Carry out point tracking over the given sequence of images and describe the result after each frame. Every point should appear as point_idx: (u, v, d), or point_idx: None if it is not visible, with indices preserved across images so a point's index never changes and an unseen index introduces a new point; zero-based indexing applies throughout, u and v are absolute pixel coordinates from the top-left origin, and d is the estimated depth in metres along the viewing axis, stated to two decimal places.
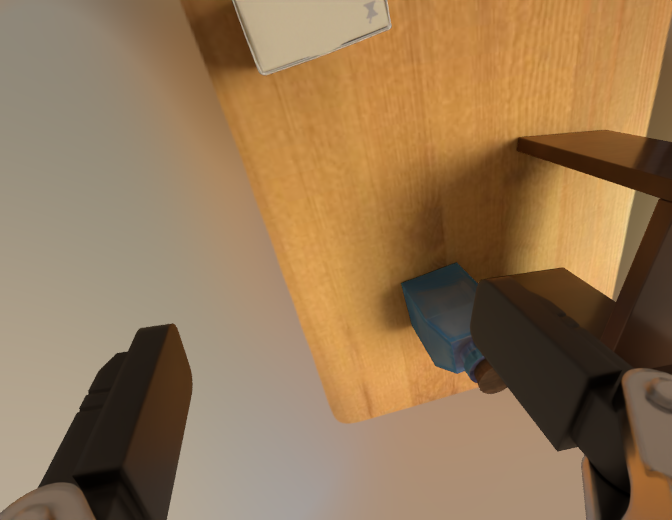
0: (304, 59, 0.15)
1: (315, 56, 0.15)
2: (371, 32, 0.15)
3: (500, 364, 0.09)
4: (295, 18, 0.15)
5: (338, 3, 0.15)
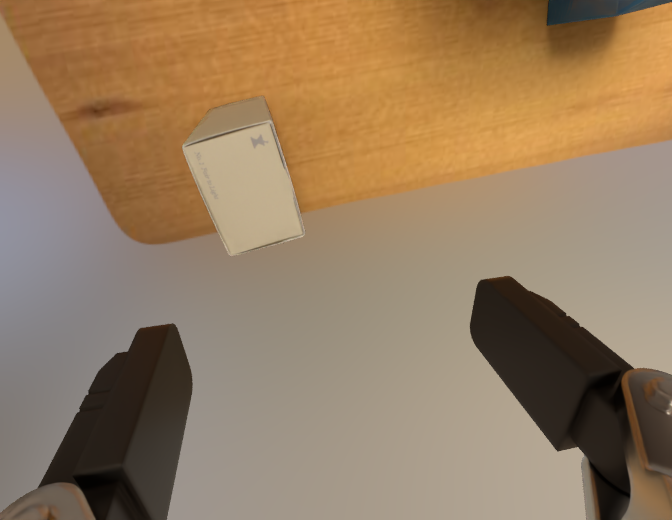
0: (294, 200, 0.18)
1: (293, 192, 0.18)
2: (275, 139, 0.17)
3: (500, 364, 0.09)
4: (265, 207, 0.18)
5: (254, 171, 0.17)
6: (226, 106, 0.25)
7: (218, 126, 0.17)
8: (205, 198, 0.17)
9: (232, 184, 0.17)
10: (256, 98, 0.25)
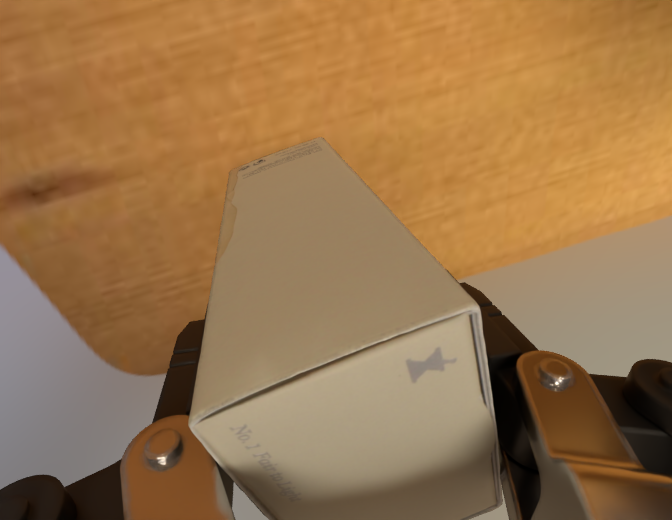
0: (493, 456, 0.07)
1: (496, 446, 0.07)
2: (475, 347, 0.05)
3: None
4: (420, 487, 0.07)
5: (404, 430, 0.06)
6: (262, 167, 0.13)
7: (283, 291, 0.06)
8: (265, 503, 0.06)
9: (342, 468, 0.06)
10: (313, 145, 0.14)
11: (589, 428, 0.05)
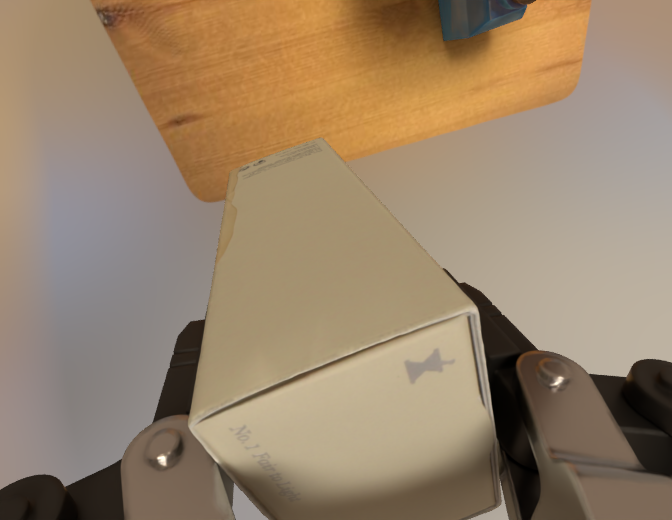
0: (492, 456, 0.07)
1: (494, 446, 0.07)
2: (473, 348, 0.05)
3: None
4: (419, 487, 0.07)
5: (402, 430, 0.06)
6: (262, 167, 0.13)
7: (283, 292, 0.06)
8: (264, 503, 0.06)
9: (342, 469, 0.06)
10: (313, 146, 0.14)
11: (589, 428, 0.05)
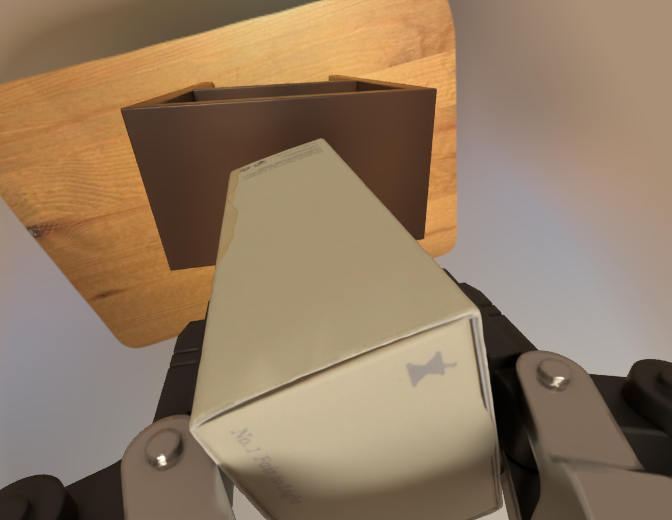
0: (493, 459, 0.07)
1: (496, 449, 0.07)
2: (474, 351, 0.05)
3: None
4: (421, 489, 0.07)
5: (404, 433, 0.06)
6: (263, 168, 0.13)
7: (284, 294, 0.06)
8: (265, 506, 0.06)
9: (343, 471, 0.06)
10: (314, 146, 0.14)
11: (589, 427, 0.05)
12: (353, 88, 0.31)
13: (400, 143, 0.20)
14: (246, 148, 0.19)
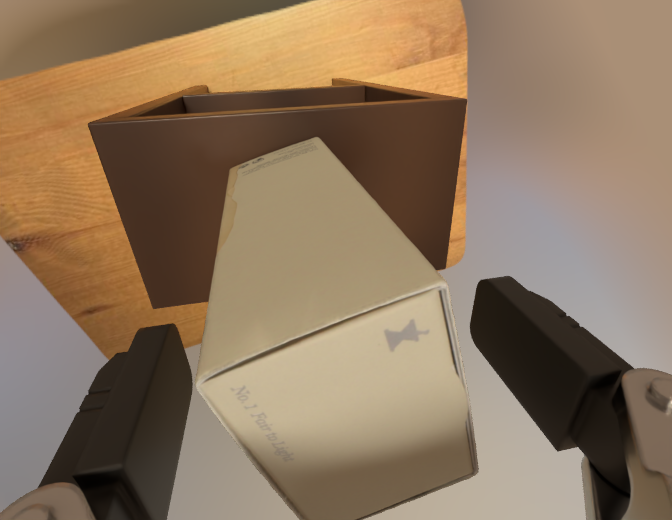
0: (467, 424, 0.08)
1: (469, 414, 0.07)
2: (445, 320, 0.06)
3: (500, 364, 0.09)
4: (401, 451, 0.07)
5: (385, 395, 0.06)
6: (261, 165, 0.14)
7: (279, 274, 0.07)
8: (261, 463, 0.07)
9: (330, 430, 0.07)
10: (309, 145, 0.15)
11: None
12: (361, 94, 0.28)
13: (422, 162, 0.17)
14: None
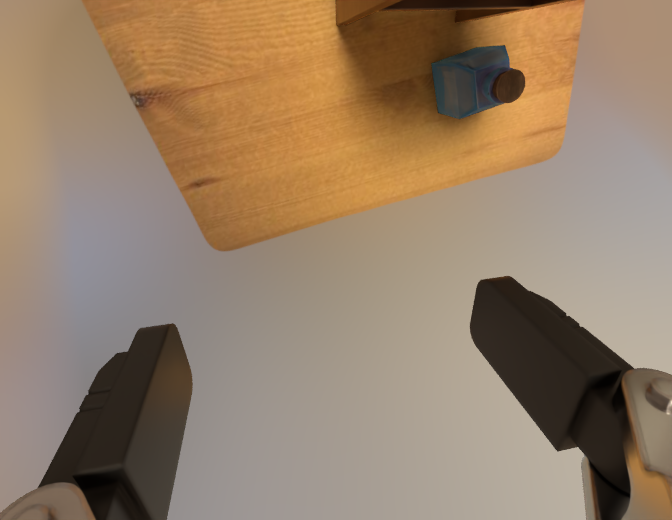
0: None
1: None
2: None
3: (500, 364, 0.09)
4: None
5: None
6: None
7: None
8: None
9: None
10: None
11: None
12: None
13: None
14: None
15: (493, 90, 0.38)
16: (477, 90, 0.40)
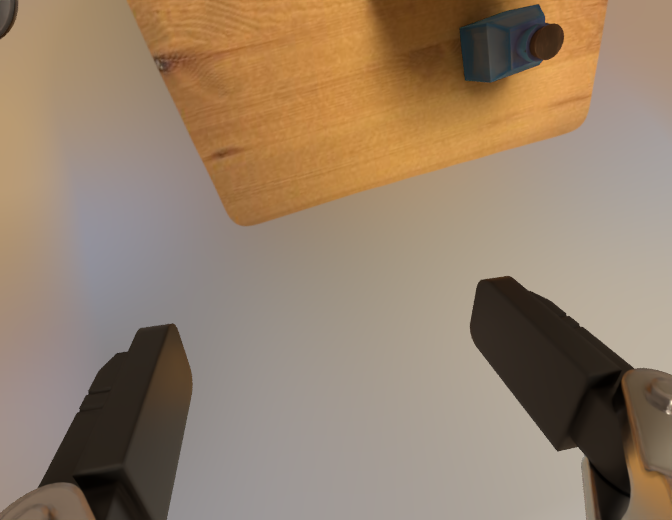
0: None
1: None
2: None
3: (500, 364, 0.09)
4: None
5: None
6: None
7: None
8: None
9: None
10: None
11: None
12: None
13: None
14: None
15: (530, 47, 0.37)
16: (512, 49, 0.39)
